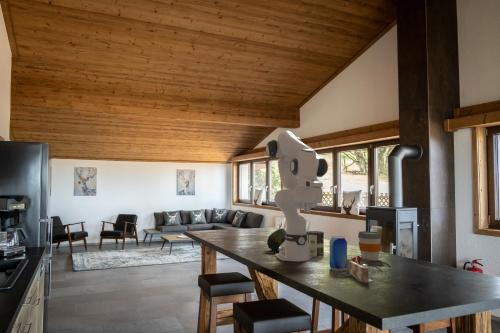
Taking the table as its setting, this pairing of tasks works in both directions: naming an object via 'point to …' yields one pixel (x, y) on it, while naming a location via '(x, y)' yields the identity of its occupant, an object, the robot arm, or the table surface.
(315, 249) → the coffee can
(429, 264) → the table surface
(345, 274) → the gate frame
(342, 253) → the beer can
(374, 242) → the reusable coffee cup
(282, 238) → the squash
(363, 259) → the glasses
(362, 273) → the gate
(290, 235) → the robot arm
